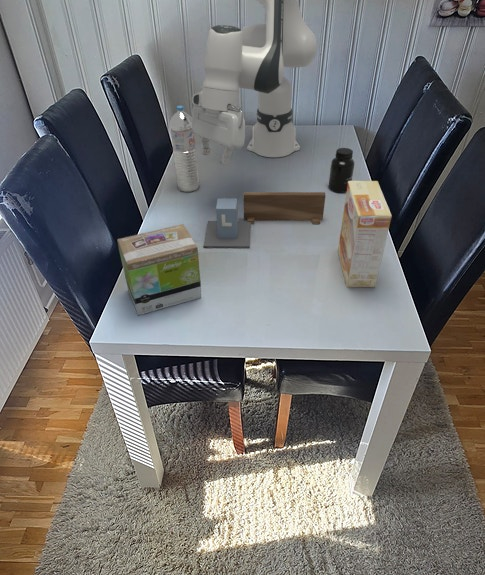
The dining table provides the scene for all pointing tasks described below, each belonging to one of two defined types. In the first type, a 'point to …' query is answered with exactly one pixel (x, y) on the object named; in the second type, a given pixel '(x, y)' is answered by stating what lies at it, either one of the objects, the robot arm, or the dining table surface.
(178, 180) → the water bottle
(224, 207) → the letter block
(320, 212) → the screen
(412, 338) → the dining table surface
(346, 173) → the supplement bottle
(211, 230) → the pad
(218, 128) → the robot arm
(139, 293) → the tea box
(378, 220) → the coffeecake box
